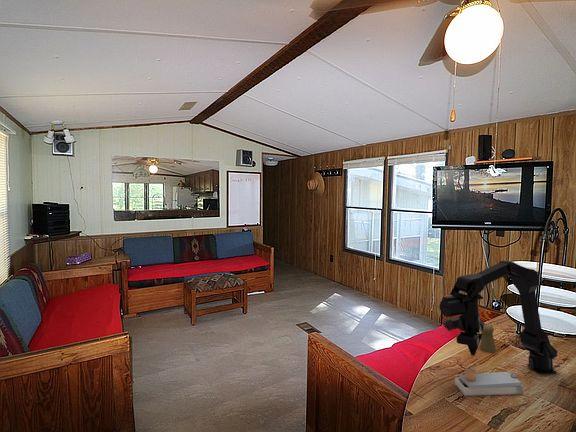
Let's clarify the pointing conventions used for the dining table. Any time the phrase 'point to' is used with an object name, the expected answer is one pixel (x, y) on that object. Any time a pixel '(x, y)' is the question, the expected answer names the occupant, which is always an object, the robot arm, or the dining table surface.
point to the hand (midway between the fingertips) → (472, 355)
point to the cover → (489, 379)
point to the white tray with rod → (487, 389)
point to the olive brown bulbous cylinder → (487, 339)
